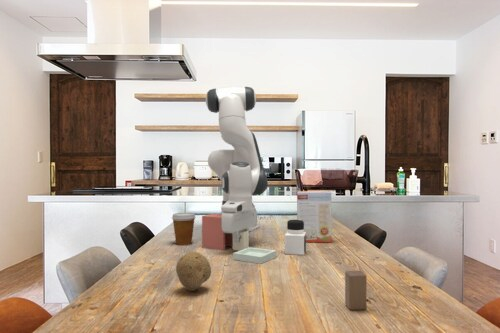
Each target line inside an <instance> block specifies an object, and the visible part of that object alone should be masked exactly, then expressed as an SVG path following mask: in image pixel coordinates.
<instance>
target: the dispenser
mask: <svg viewBox="0 0 500 333" xmlns="http://www.w3.org/2000/svg"><path fill="white" fill-rule="evenodd" d="M221 220H222V214H221V213H211V214H210V213H209V214H206V215H202V216H201V239H202V240H201V247H202V249H210V250H211V249H212V250H219V251H225V250H226V247H232V248H233V235H232V233H224V232H223V231H222V223H221Z"/></svg>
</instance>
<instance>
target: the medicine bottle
mask: <svg viewBox="0 0 500 333" xmlns="http://www.w3.org/2000/svg"><path fill="white" fill-rule="evenodd" d="M286 225H287V226H286V232H285V234H284V254H285V255H292V254H294V255H295V256H297V255H298V256H305V254H306V250H307V242H306V232H303V231H304V222H303V221H302V220H297V218H296V219H289V220H288V221H287V222H286ZM294 255H293V256H294Z"/></svg>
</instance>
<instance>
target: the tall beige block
mask: <svg viewBox="0 0 500 333" xmlns="http://www.w3.org/2000/svg"><path fill="white" fill-rule="evenodd" d="M249 232H250V231H243V230H240V231H239V234H238V236H239V238H240V242H239V243H235V242H234V237H233V247H232V250H233V251H237V252H238V251H240V250H243V249H246V248H249V247H250V246H249V243H250V240H249V237H250V236H249V234H250V233H249Z"/></svg>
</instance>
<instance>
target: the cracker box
mask: <svg viewBox="0 0 500 333" xmlns="http://www.w3.org/2000/svg"><path fill="white" fill-rule="evenodd" d="M296 198H297V199H296V205H297V206H296V219H297V220H302V221H303V222H304V231H303V232H306V243H332V240H333V239H332V192H331V191H329V190H328V191H327V190H325V191H324V190H320V191H319V190H317V191H316V190H300V191H299V190H298V191H296Z"/></svg>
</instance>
